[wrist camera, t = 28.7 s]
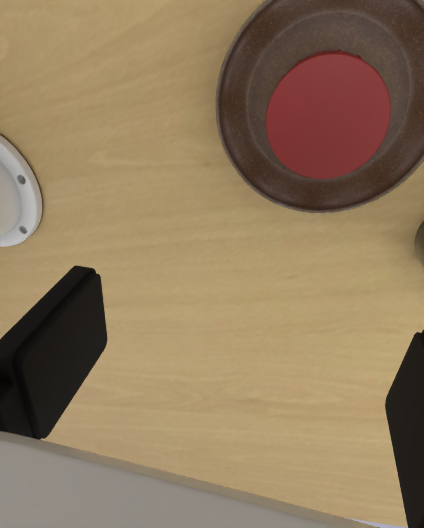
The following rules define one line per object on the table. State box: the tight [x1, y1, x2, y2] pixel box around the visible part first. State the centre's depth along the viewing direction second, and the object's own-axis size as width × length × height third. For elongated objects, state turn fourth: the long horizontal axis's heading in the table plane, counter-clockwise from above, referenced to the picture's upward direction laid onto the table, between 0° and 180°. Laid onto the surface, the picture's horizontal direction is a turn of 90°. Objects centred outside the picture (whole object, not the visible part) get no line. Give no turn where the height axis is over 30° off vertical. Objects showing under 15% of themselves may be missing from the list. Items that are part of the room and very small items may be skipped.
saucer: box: [216, 0, 424, 213], centre depth 27 cm, size 15×15×3 cm
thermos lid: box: [266, 49, 391, 179], centre depth 24 cm, size 7×7×4 cm
